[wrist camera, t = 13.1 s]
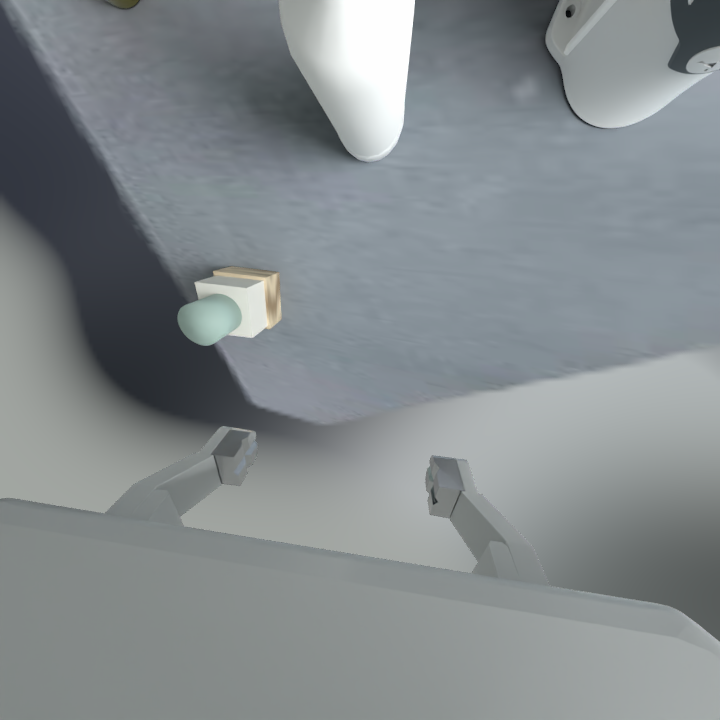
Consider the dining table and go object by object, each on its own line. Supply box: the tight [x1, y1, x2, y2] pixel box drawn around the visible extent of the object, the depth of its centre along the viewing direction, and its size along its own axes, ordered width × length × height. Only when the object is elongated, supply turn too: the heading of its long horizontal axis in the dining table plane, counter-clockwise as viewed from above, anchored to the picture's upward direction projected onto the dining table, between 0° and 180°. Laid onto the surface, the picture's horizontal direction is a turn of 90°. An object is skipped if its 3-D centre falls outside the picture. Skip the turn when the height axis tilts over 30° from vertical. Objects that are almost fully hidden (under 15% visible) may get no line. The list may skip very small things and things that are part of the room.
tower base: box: [213, 266, 281, 329], centre depth 41 cm, size 8×8×5 cm
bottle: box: [279, 0, 415, 162], centre depth 18 cm, size 8×8×30 cm
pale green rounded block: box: [178, 294, 242, 345], centre depth 33 cm, size 5×5×5 cm
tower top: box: [195, 275, 268, 338], centre depth 37 cm, size 7×7×5 cm
